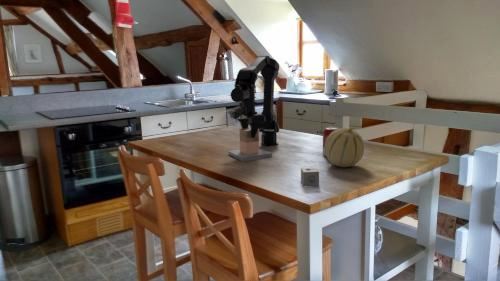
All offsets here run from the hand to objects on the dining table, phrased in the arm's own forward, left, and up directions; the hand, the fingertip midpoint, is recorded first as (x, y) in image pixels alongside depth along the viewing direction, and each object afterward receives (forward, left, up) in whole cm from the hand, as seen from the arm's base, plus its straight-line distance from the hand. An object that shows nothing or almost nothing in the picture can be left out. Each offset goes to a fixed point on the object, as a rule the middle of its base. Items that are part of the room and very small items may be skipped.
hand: (249, 136), depth 167 cm
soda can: (-28, +20, -9) cm, 35 cm away
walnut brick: (0, 0, -2) cm, 2 cm away
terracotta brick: (0, 0, -7) cm, 7 cm away
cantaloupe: (-22, +35, -9) cm, 42 cm away
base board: (0, 0, -8) cm, 8 cm away
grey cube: (+1, +45, -9) cm, 46 cm away
